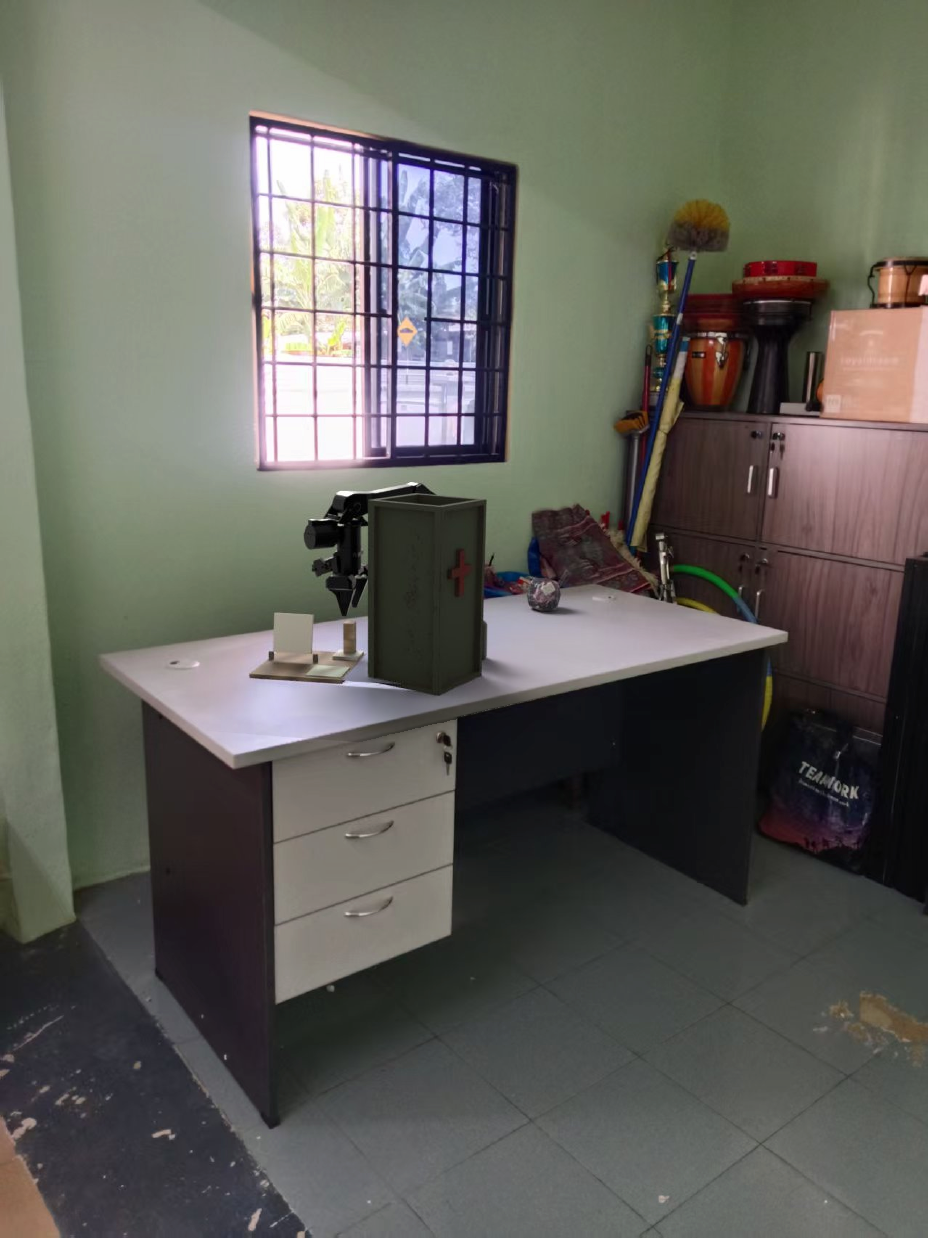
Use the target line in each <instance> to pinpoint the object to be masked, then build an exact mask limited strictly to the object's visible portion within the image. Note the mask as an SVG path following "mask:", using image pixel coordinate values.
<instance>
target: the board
mask: <svg viewBox="0 0 928 1238" xmlns="http://www.w3.org/2000/svg"><path fill="white" fill-rule="evenodd" d="M336 652H337V651H330V650H329V651H328V650H327V651H326V650H324V651H323V650H314V649H312V654H301V653H285V652H273V650H268V659H266V660H265V661H264V662H263V663H262V664H260V665H259V666H258V667H256V668H255V669H253V670H252V671H251V672H250V673H248V675H249V679H258V680H272V681H273V680H275V681H286V682H287V681H289V682H290V681H291V682H304V683H316V684H318V683H319V684H320V683H321V684H332V685H333V684H335V685H342V684H344V682H346V680H345V679H344V678H345V677H346V676H347V675H348V674H349V673H350V672H351V671H352V670H353V669H354V668H355V667H356V665H358V663H359V662H360V661H361V660H362V659H364V657H365V656H366V655H367V653H364V654H363V655H362V657H361V658H360V659H359V660H358V661H352V660H336V659H332V656H333V655H334V654H335V653H336Z"/></svg>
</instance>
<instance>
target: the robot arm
mask: <svg viewBox="0 0 928 1238" xmlns="http://www.w3.org/2000/svg"><path fill="white" fill-rule="evenodd" d="M414 493H419V494H430V495H437V494H436V493H435V492H433V491H432V490H430V489H429V488H428V487H427V486H426V485H425V484H424V483H421V482H416V481H415V482H414V481H410V482H408V483H404V484H400V485H396V486H395V485H394V486H389V487H384V488H380V489H375V490H369V491H360V490H340V491H338V492H336V493H335V495H334V496H333V499H332V503H331V505H330V506H329V508H328V510H327V511H326V513H325V514H324V516H323V518H321V519H316V518H312V519H311V518H310V519H308V520H307V525H306V527H305V529H304V532H303V541H304V545H305V547H306V548H307V549H308V550H310V551H313V550H320V549H321V550H322V549H333V548H334V547H336V550H335V551H334V552H333V553H332V556H330V557H327V558H322V557H319V558H315V559H314V560H313V563H312V564H311V572H312V573H314V574H315V576H316V577H315V578H319V577H321V576H322V575H325V574H328V573H331V572H332V574H331V575H329V576H328V577H327V578H326V579H325V588H326V589H327V590H328V592H331V593H333V595H334V596H335V599H336V600H337V604H338V608H339V611H340V613H341V614H340V615H341V616H342V617H347V616H348V613H349V610H350V607H352V608H354V609H356V608H358V606H359V604H360V601H361V599H362V597H363V594H364V592H365V589H366V587H367V586H368V563H363V562H362V555H364V549H363V548H362V527H363V528H364V527H368V520H366V518H364V516H365V515H368V500H372V499H379V498H386V497H393V496H400V495H407V494H414Z"/></svg>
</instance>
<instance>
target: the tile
mask: <svg viewBox="0 0 928 1238" xmlns="http://www.w3.org/2000/svg"><path fill="white" fill-rule="evenodd" d="M314 618H315V616H314V614H305V613H287V612H286V613H285V612H274V613H273V636H272V637H273V641H272V644H273V645H272V651H273V652H274V653H277V652H285V653H301V654H312V650H313V642H314V639H313V638H314Z"/></svg>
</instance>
